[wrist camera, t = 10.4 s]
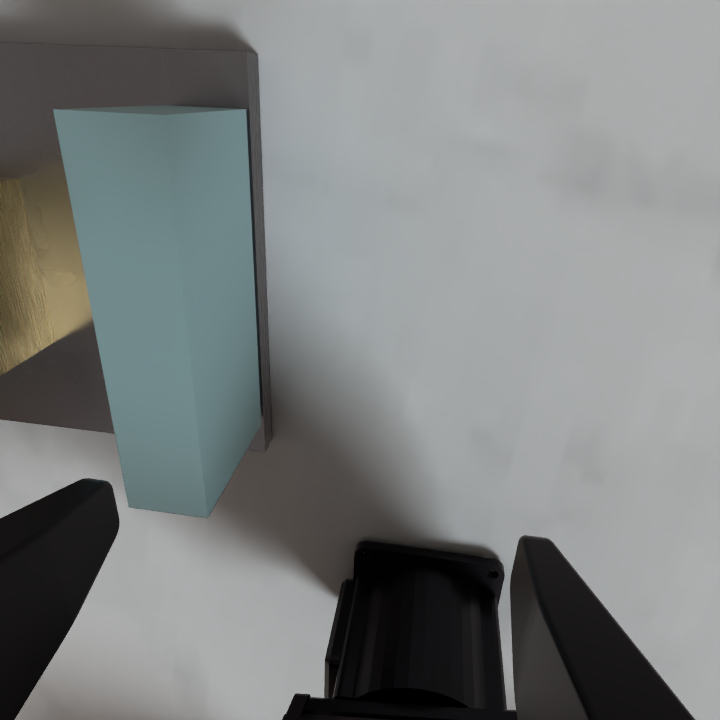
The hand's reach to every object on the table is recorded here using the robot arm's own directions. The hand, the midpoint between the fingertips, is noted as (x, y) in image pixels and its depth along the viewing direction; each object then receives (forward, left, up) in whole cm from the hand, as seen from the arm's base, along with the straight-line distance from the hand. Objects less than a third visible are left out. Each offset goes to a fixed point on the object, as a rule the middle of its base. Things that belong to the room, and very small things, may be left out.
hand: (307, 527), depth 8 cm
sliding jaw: (+6, 0, -11) cm, 12 cm away
